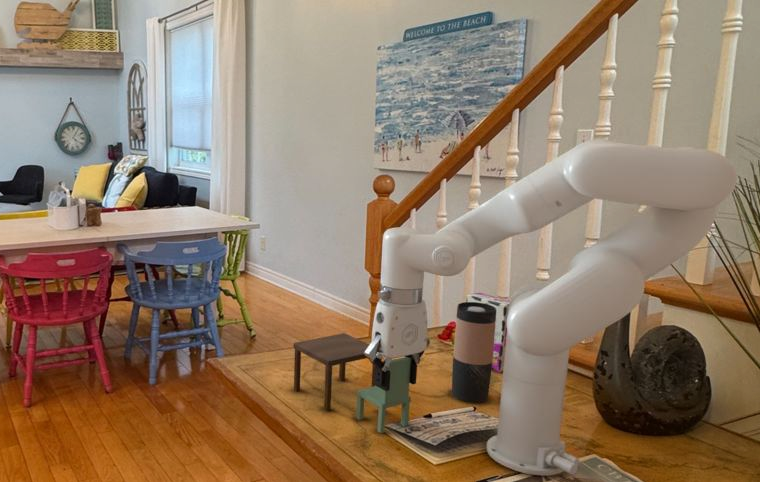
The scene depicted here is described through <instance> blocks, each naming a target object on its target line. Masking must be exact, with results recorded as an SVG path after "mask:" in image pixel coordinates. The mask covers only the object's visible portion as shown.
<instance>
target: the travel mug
mask: <svg viewBox="0 0 760 482" xmlns="http://www.w3.org/2000/svg"><path fill="white" fill-rule="evenodd" d="M495 323H496V308H495V307H493V306H491V305H488V304H484V303H477V302H466V301H464V302H460V303H458V304H457V309H456V318H455V330H454V331H455V332H454V340H453V341H454V342H453V354H452V373H451V374H452V375H451V376H452V377H451V395H452V396H453V397H454V398H455V399H457V400H459V401H462V402H465V403H470V404H481V403H482V404H483V403H485V402H487V401H488V399H489V392H490V385H491V379H492V378H491V377H492V371H493V369H492V361H493V349H494V336H495Z"/></svg>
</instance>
